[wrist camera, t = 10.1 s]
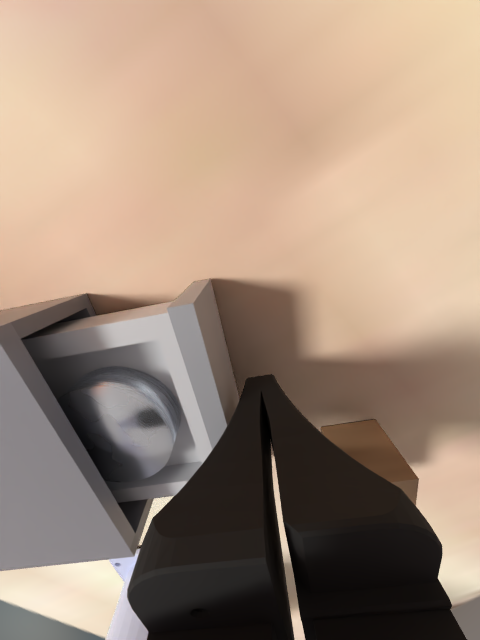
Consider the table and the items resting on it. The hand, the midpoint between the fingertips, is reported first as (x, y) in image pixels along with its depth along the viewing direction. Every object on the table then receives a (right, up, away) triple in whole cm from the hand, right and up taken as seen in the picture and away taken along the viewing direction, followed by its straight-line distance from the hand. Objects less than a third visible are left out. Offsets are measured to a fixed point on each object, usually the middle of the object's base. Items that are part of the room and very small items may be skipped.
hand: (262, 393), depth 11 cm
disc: (-7, -1, +1) cm, 7 cm away
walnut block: (+6, -4, +3) cm, 8 cm away
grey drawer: (-7, -1, +2) cm, 7 cm away
